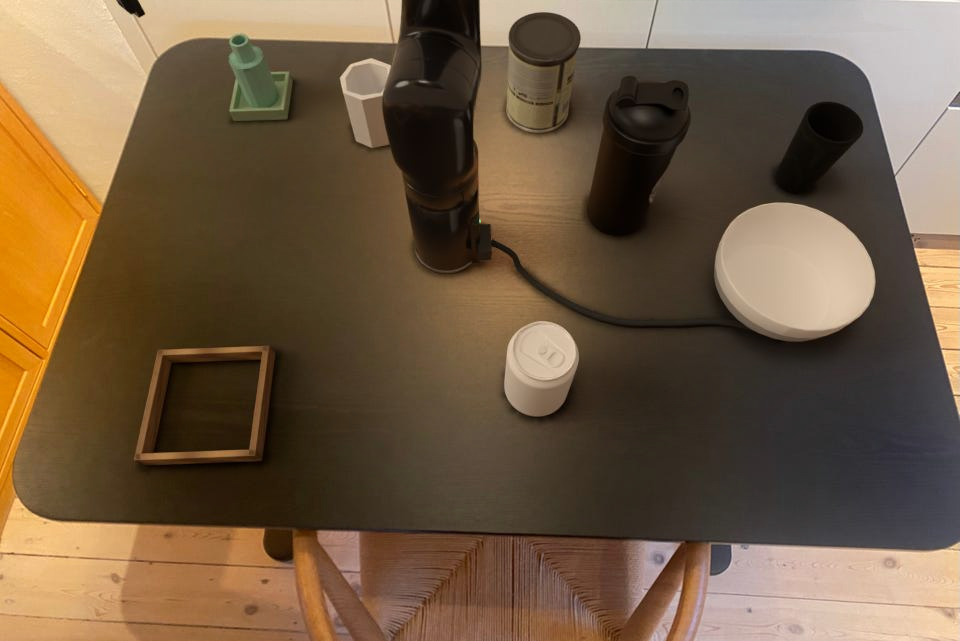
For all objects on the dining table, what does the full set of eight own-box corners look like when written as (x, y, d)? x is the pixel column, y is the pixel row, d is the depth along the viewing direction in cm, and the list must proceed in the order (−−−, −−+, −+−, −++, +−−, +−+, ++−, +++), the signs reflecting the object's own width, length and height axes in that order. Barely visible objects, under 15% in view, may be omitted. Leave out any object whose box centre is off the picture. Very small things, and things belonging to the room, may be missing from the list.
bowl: (842, 258, 86) (878, 222, 78) (834, 377, 78) (874, 349, 70) (708, 225, 88) (730, 187, 81) (688, 336, 80) (710, 306, 73)
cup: (829, 191, 91) (875, 133, 80) (786, 206, 90) (828, 150, 79) (799, 154, 94) (840, 94, 84) (757, 168, 93) (793, 109, 82)
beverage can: (529, 347, 80) (536, 304, 69) (579, 383, 78) (595, 345, 67) (491, 391, 77) (492, 354, 66) (541, 431, 75) (551, 398, 64)
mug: (347, 146, 96) (334, 98, 87) (357, 106, 99) (345, 56, 91) (423, 151, 95) (417, 103, 86) (429, 111, 99) (424, 61, 90)
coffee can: (506, 86, 101) (509, 10, 89) (567, 88, 101) (579, 12, 88) (504, 133, 97) (507, 59, 84) (569, 134, 96) (582, 61, 84)
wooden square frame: (275, 353, 80) (269, 345, 77) (262, 461, 73) (255, 455, 71) (167, 357, 79) (157, 349, 77) (144, 465, 73) (133, 460, 71)
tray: (292, 81, 102) (289, 71, 100) (287, 119, 98) (283, 109, 96) (241, 82, 102) (236, 72, 100) (233, 121, 98) (228, 111, 96)
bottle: (279, 106, 99) (256, 49, 89) (246, 111, 98) (220, 54, 88) (278, 84, 101) (256, 26, 91) (246, 88, 100) (221, 30, 91)
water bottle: (647, 246, 87) (698, 129, 66) (576, 234, 88) (605, 116, 67) (652, 191, 91) (702, 65, 71) (585, 180, 92) (614, 53, 72)
